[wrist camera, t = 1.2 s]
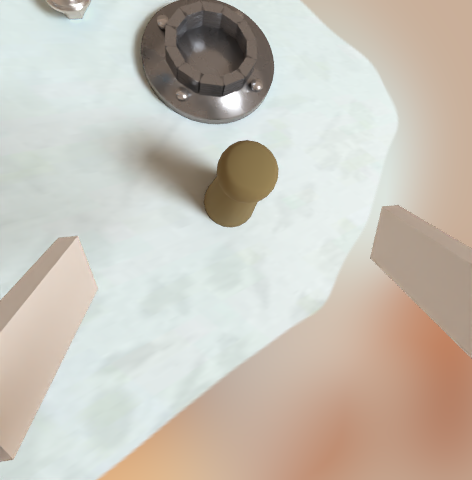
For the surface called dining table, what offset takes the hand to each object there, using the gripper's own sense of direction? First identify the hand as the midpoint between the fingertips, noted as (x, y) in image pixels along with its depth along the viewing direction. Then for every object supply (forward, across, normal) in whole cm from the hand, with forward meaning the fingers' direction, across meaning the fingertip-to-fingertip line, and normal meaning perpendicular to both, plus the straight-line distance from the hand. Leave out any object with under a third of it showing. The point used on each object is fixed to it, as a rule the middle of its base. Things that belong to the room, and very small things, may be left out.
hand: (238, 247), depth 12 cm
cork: (+20, +1, -6) cm, 21 cm away
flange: (+30, +1, +9) cm, 31 cm away
